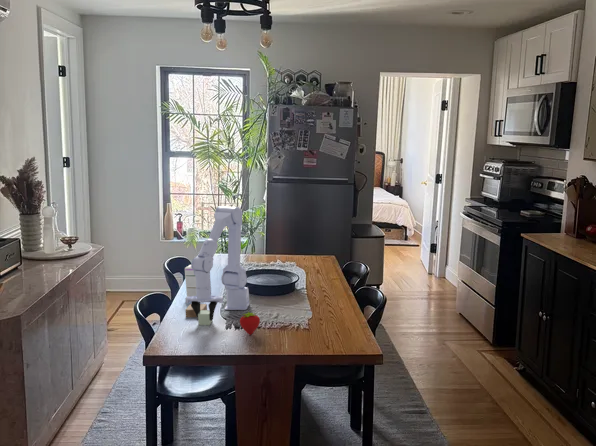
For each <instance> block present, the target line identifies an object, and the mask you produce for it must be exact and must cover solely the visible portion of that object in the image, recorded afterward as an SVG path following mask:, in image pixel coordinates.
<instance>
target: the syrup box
mask: <svg viewBox="0 0 596 446" xmlns="http://www.w3.org/2000/svg"><path fill="white" fill-rule="evenodd" d="M191 265H192V264H189V265H188V266H187V265H186V267H184V275H185V276H184V278H185V279H184V280H185V289H186V290H185V291H186V297H187V296H197V295H196V279H195V275H194V271H193V269H192V267H191Z"/></svg>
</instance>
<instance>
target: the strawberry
mask: <svg viewBox="0 0 596 446" xmlns="http://www.w3.org/2000/svg"><path fill="white" fill-rule="evenodd" d="M241 315H242V316H241V317H240V318H239V324H240V327H241V328H242V329H243V330H244V331H245V332H246V333H247V334H248V336H249V335H250V336H251V335H253V334H254V332H255V331H256V330H257V329H258V327H259V326H260V322H261V319H260V317H259V316H258V315H257V313H254V312H249V311H247V313H242V314H241Z"/></svg>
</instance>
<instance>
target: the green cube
mask: <svg viewBox="0 0 596 446" xmlns="http://www.w3.org/2000/svg"><path fill="white" fill-rule="evenodd" d="M197 322H198V326H211V324H212V322H213V320H212V321H210V311H209V309H207V310H201V311H200V312H199V313H198V319H197Z"/></svg>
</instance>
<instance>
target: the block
mask: <svg viewBox="0 0 596 446" xmlns="http://www.w3.org/2000/svg"><path fill="white" fill-rule="evenodd" d="M191 304H192V303H190V304H189V305H188V306H187V308H186V309H185V318H197V316H196V314H195V311H194V310H193V308H192V307H191ZM201 310H208V305H207V303H200V311H201Z"/></svg>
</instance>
